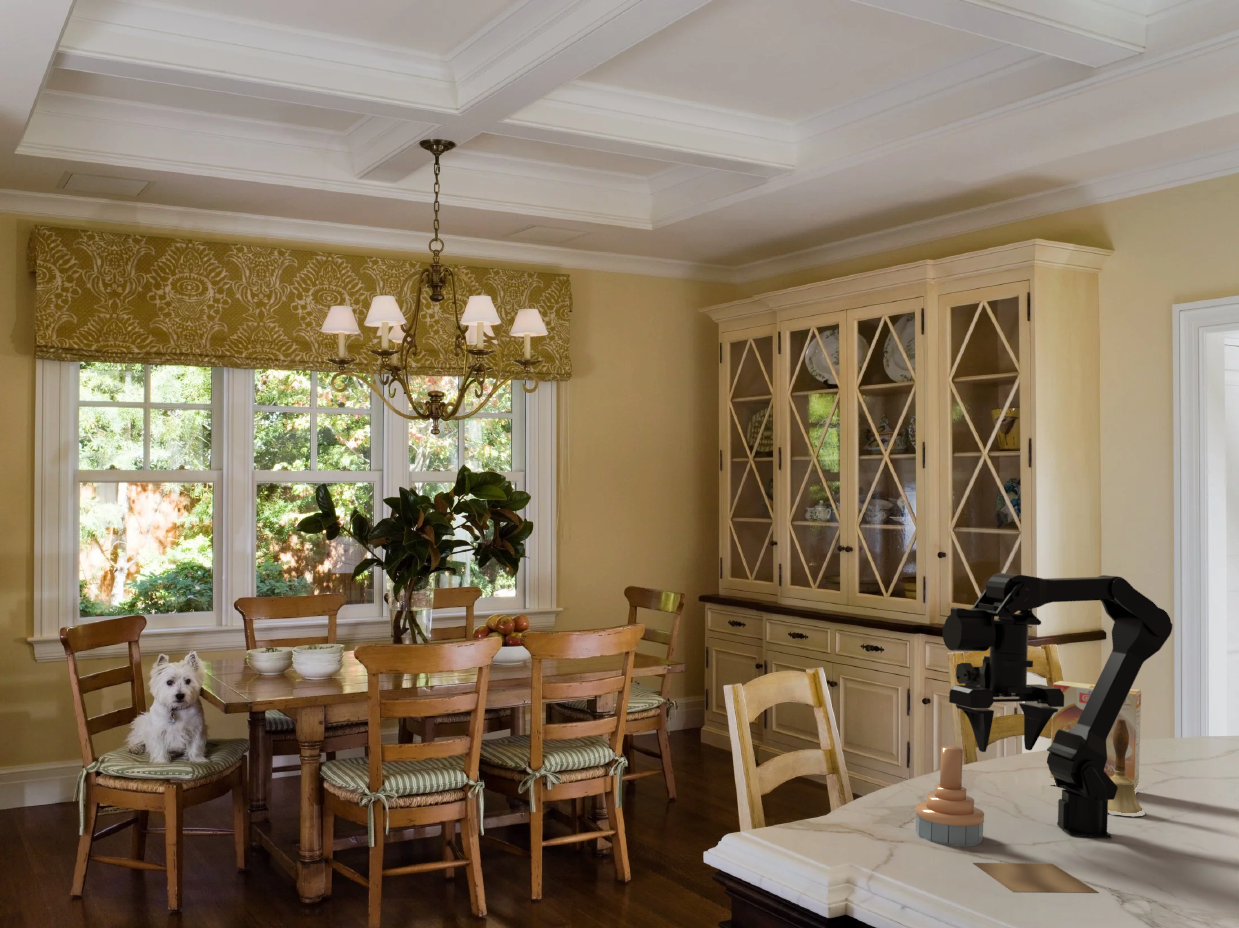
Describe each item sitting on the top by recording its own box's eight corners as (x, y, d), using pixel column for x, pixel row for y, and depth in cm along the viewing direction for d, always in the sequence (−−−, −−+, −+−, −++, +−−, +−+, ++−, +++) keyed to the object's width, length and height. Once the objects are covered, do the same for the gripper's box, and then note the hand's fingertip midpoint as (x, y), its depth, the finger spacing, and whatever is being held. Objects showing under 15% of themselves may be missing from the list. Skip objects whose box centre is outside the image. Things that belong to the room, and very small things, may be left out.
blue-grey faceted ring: (972, 833, 172) (972, 811, 172) (989, 851, 162) (990, 827, 162) (910, 829, 172) (911, 807, 172) (924, 847, 163) (925, 823, 163)
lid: (993, 818, 168) (995, 749, 168) (969, 830, 160) (971, 758, 161) (931, 805, 174) (934, 739, 175) (905, 816, 167) (907, 746, 167)
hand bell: (1084, 804, 195) (1087, 714, 196) (1129, 806, 195) (1131, 716, 196) (1109, 817, 186) (1111, 723, 187) (1155, 818, 187) (1157, 725, 188)
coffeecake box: (1049, 785, 209) (1051, 683, 210) (1055, 779, 215) (1058, 679, 216) (1134, 799, 201) (1137, 692, 202) (1139, 792, 207) (1141, 688, 208)
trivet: (1052, 868, 155) (1052, 863, 155) (1099, 897, 143) (1099, 892, 144) (972, 867, 154) (972, 862, 154) (1012, 896, 142) (1013, 891, 142)
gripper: (1018, 646, 185) (1015, 739, 184) (928, 645, 178) (925, 742, 177) (1068, 654, 175) (1065, 753, 174) (974, 654, 168) (971, 757, 167)
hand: (1005, 750), depth 173 cm, fingers open, 9 cm apart
